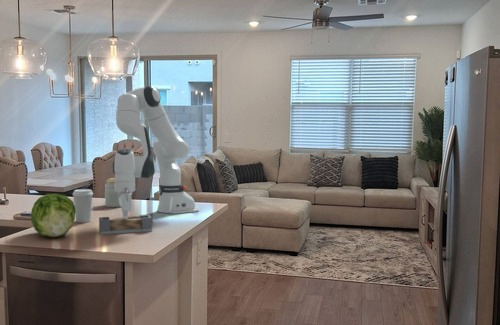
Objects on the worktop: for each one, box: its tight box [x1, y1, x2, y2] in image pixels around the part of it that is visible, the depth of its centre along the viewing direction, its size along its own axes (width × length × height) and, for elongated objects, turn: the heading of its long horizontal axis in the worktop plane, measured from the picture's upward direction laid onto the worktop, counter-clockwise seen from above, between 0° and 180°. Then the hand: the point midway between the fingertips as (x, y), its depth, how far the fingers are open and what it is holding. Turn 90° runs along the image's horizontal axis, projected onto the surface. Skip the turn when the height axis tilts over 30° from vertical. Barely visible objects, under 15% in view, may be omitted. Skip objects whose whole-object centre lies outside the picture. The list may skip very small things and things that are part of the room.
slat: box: [110, 217, 142, 230], centre depth 222 cm, size 18×3×4 cm, turn 110°
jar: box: [104, 174, 121, 208], centre depth 286 cm, size 13×13×18 cm
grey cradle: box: [98, 214, 153, 235], centre depth 222 cm, size 22×7×6 cm, turn 110°
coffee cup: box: [72, 188, 94, 224], centre depth 241 cm, size 10×10×15 cm
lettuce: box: [30, 193, 76, 238], centre depth 212 cm, size 18×23×19 cm
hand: (125, 218), depth 222 cm, fingers closed
